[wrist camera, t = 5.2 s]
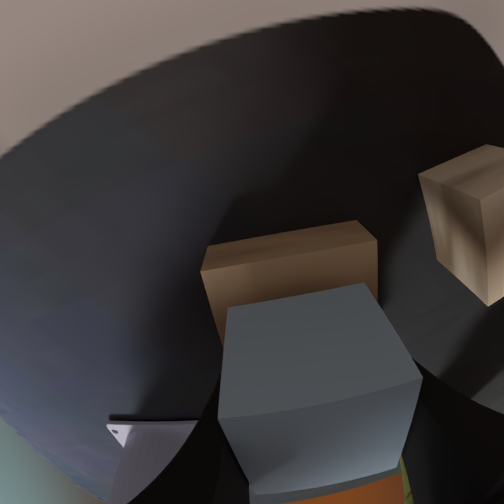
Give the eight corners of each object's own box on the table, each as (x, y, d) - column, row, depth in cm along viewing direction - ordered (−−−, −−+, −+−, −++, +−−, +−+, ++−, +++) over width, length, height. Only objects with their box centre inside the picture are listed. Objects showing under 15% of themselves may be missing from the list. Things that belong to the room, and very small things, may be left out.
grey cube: (363, 377, 13) (395, 467, 8) (253, 397, 13) (255, 495, 9) (364, 282, 11) (422, 377, 6) (227, 307, 11) (217, 418, 7)
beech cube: (498, 225, 14) (553, 259, 10) (436, 259, 15) (487, 306, 11) (485, 144, 13) (551, 160, 8) (416, 173, 13) (479, 199, 9)
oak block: (358, 333, 17) (374, 368, 15) (238, 355, 18) (237, 393, 15) (354, 217, 15) (377, 239, 12) (208, 243, 15) (200, 271, 12)
